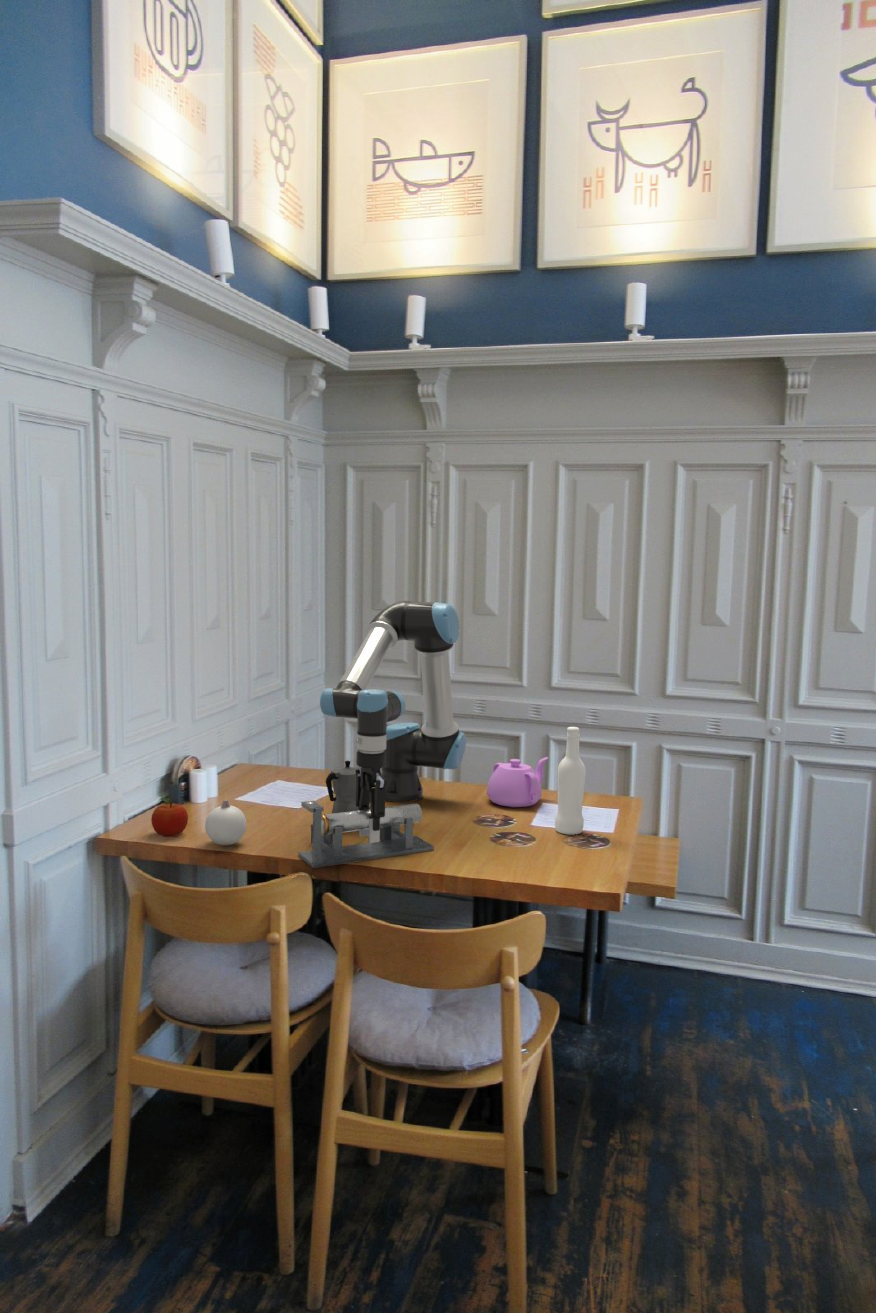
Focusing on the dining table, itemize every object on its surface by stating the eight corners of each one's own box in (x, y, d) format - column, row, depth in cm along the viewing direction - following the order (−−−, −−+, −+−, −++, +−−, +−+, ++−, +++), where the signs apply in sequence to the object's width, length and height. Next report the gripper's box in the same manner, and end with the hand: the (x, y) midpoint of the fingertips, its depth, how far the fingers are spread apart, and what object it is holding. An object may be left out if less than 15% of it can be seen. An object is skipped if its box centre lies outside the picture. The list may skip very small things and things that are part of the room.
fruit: (174, 841, 250) (174, 804, 249) (144, 837, 253) (143, 800, 252) (195, 832, 259) (195, 796, 258) (166, 827, 262) (166, 792, 261)
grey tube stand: (415, 839, 258) (417, 785, 257) (434, 850, 249) (436, 794, 248) (295, 856, 241) (296, 798, 239) (311, 869, 232) (312, 808, 231)
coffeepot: (348, 814, 281) (350, 754, 278) (373, 820, 275) (375, 759, 273) (313, 825, 268) (314, 763, 266) (338, 832, 263) (339, 768, 261)
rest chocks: (381, 833, 263) (382, 815, 262) (394, 840, 256) (394, 822, 256) (310, 842, 253) (311, 824, 252) (321, 851, 246) (322, 832, 245)
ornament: (226, 852, 242) (226, 807, 241) (197, 845, 248) (197, 800, 246) (254, 842, 251) (254, 798, 250) (225, 835, 256) (225, 792, 255)
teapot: (568, 805, 298) (570, 762, 296) (514, 815, 285) (516, 769, 284) (523, 789, 316) (525, 749, 314) (471, 797, 303) (472, 755, 302)
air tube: (412, 819, 254) (413, 800, 254) (421, 825, 250) (422, 805, 249) (314, 832, 240) (315, 812, 240) (322, 838, 236) (323, 817, 235)
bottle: (585, 829, 273) (590, 726, 269) (580, 836, 265) (585, 731, 262) (557, 825, 275) (562, 723, 272) (551, 833, 268) (556, 728, 264)
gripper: (343, 744, 249) (341, 831, 251) (373, 758, 233) (371, 850, 236) (369, 742, 252) (367, 827, 255) (400, 756, 237) (398, 847, 240)
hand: (369, 838), depth 245 cm, fingers closed on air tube, 5 cm apart
